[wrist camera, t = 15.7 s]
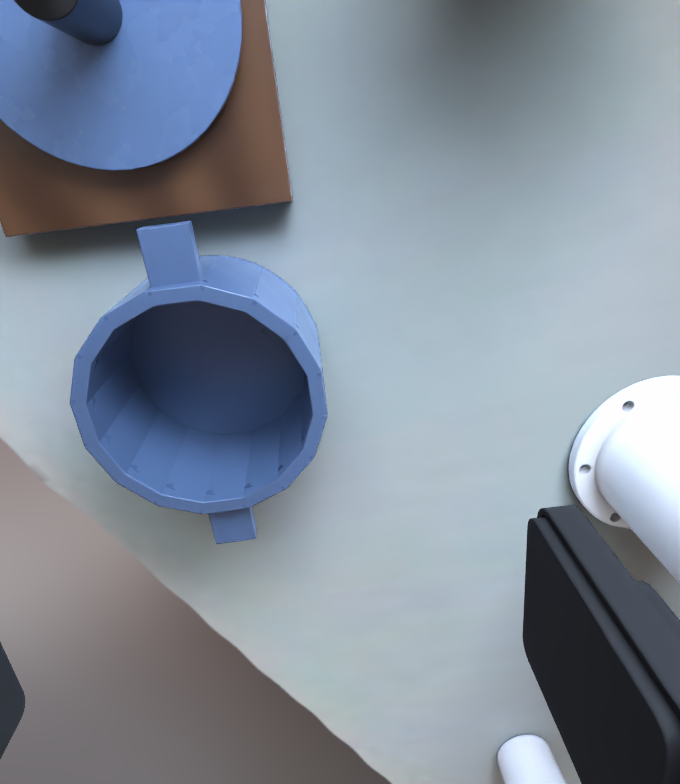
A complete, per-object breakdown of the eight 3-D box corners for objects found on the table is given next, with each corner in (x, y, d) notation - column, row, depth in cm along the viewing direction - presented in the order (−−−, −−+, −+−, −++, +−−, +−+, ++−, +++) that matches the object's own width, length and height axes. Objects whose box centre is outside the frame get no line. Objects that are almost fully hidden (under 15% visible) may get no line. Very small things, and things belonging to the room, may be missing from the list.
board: (231, -244, 25) (226, -275, 23) (292, 198, 32) (292, 201, 31) (-127, -205, 24) (-161, -234, 23) (21, 232, 32) (5, 237, 30)
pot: (299, 196, 32) (299, 210, 25) (334, 459, 40) (343, 534, 32) (82, 223, 32) (14, 245, 24) (158, 483, 40) (125, 564, 32)
